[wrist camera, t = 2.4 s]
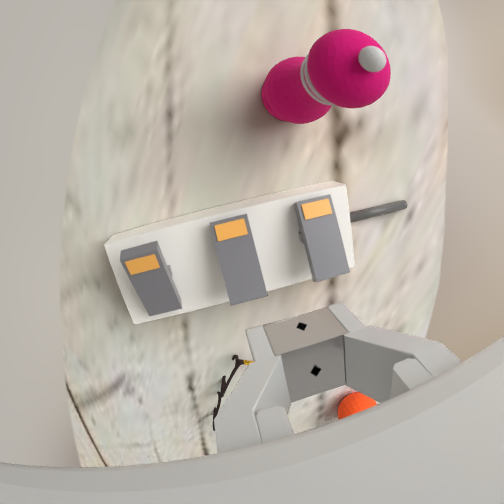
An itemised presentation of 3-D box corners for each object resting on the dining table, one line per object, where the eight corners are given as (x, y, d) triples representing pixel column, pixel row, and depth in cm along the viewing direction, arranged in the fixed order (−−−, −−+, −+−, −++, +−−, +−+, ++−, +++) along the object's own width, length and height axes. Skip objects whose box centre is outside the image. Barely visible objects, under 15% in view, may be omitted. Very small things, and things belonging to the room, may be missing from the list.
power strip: (112, 234, 36) (101, 248, 31) (400, 167, 39) (424, 171, 34) (139, 309, 39) (133, 330, 34) (405, 237, 43) (427, 249, 38)
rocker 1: (120, 250, 30) (119, 260, 28) (157, 240, 30) (157, 250, 29) (149, 307, 35) (149, 317, 34) (181, 299, 35) (182, 309, 34)
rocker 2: (209, 224, 33) (209, 222, 32) (245, 215, 34) (246, 213, 32) (230, 303, 33) (230, 305, 32) (265, 294, 34) (268, 295, 32)
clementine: (377, 382, 51) (395, 407, 45) (363, 409, 53) (379, 435, 47) (339, 385, 50) (356, 413, 43) (326, 413, 52) (340, 441, 45)
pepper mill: (271, 134, 35) (352, 127, 17) (246, 77, 33) (304, 13, 14) (325, 114, 35) (438, 99, 17) (303, 59, 33) (399, 0, 14)
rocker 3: (293, 203, 34) (296, 201, 33) (326, 196, 34) (330, 193, 33) (313, 281, 34) (317, 282, 33) (345, 271, 35) (350, 272, 33)
